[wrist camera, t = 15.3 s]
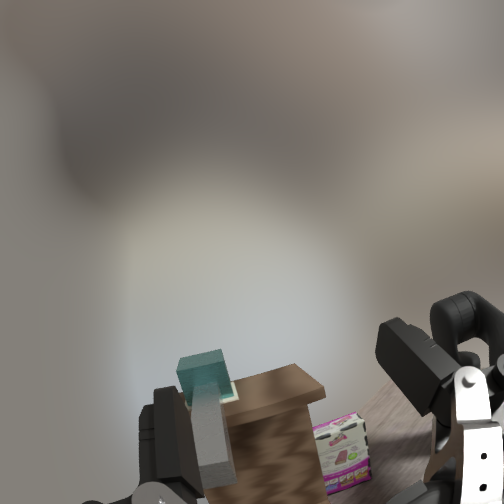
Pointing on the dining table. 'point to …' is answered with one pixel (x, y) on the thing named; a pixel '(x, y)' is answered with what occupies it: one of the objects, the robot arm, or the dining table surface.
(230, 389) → the grey and teal bar
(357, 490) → the dining table surface
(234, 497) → the bracket shelf
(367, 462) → the candy bar box
